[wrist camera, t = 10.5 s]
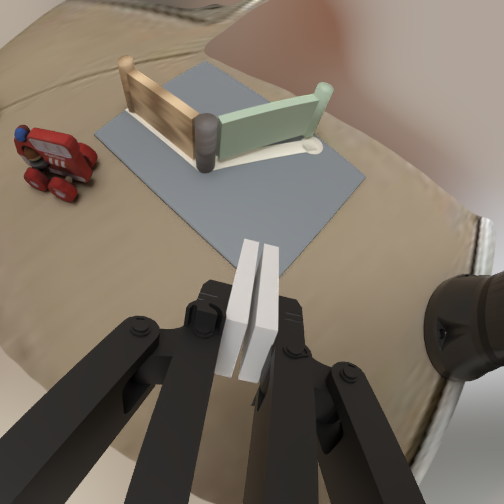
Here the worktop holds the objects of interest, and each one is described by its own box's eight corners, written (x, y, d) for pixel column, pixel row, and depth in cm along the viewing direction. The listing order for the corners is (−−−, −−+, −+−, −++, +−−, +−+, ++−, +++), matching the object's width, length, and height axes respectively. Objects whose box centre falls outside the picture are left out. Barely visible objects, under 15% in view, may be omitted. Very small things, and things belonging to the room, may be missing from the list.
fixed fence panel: (218, 167, 40) (222, 115, 30) (205, 178, 39) (205, 127, 30) (138, 103, 42) (128, 52, 32) (125, 111, 41) (113, 61, 32)
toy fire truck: (47, 145, 38) (19, 100, 28) (110, 165, 38) (89, 114, 28) (22, 184, 36) (-13, 144, 26) (85, 209, 36) (53, 165, 26)
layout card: (364, 177, 42) (366, 176, 42) (264, 293, 36) (264, 292, 35) (205, 62, 46) (205, 60, 46) (94, 135, 39) (93, 133, 39)
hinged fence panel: (220, 164, 39) (224, 117, 30) (214, 152, 39) (217, 104, 31) (315, 135, 42) (336, 92, 34) (308, 125, 43) (327, 81, 34)
